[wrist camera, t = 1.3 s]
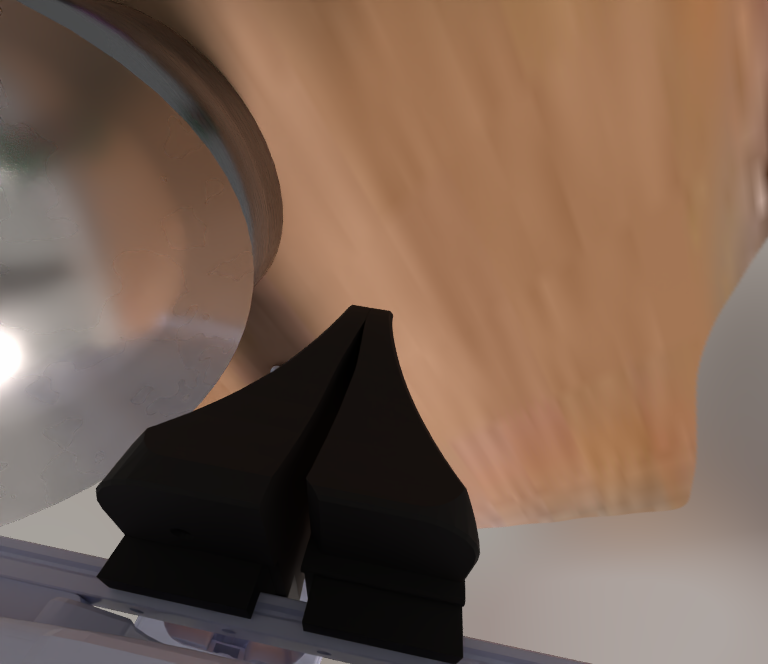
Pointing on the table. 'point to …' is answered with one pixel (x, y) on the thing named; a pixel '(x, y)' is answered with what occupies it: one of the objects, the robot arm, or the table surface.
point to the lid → (102, 263)
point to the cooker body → (188, 104)
